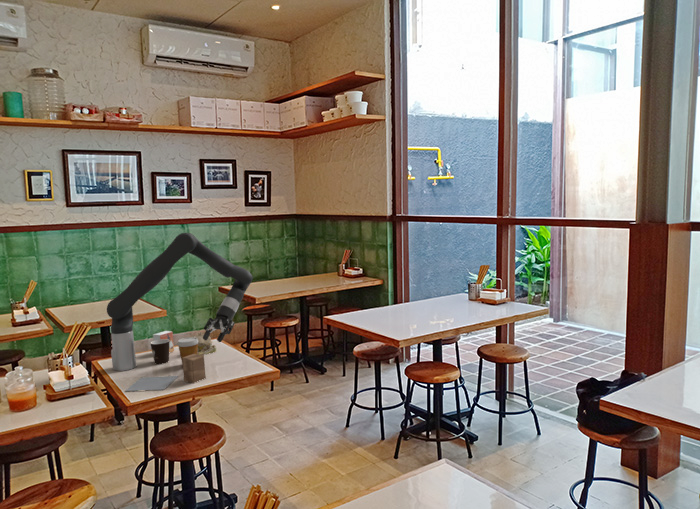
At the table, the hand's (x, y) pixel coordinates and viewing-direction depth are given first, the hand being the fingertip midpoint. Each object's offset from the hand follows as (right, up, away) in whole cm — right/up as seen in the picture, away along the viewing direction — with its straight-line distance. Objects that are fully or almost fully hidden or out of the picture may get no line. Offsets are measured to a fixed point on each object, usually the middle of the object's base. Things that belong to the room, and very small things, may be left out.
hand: (211, 340), depth 230 cm
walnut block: (-5, -15, -8) cm, 18 cm away
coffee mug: (-29, -14, +22) cm, 39 cm away
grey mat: (-22, -17, -10) cm, 29 cm away
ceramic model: (-14, -12, +34) cm, 38 cm away
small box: (-33, -13, +36) cm, 50 cm away
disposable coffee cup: (-13, -14, +13) cm, 23 cm away
